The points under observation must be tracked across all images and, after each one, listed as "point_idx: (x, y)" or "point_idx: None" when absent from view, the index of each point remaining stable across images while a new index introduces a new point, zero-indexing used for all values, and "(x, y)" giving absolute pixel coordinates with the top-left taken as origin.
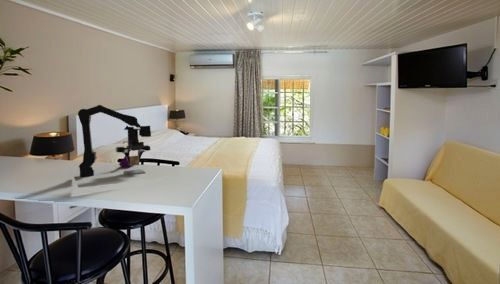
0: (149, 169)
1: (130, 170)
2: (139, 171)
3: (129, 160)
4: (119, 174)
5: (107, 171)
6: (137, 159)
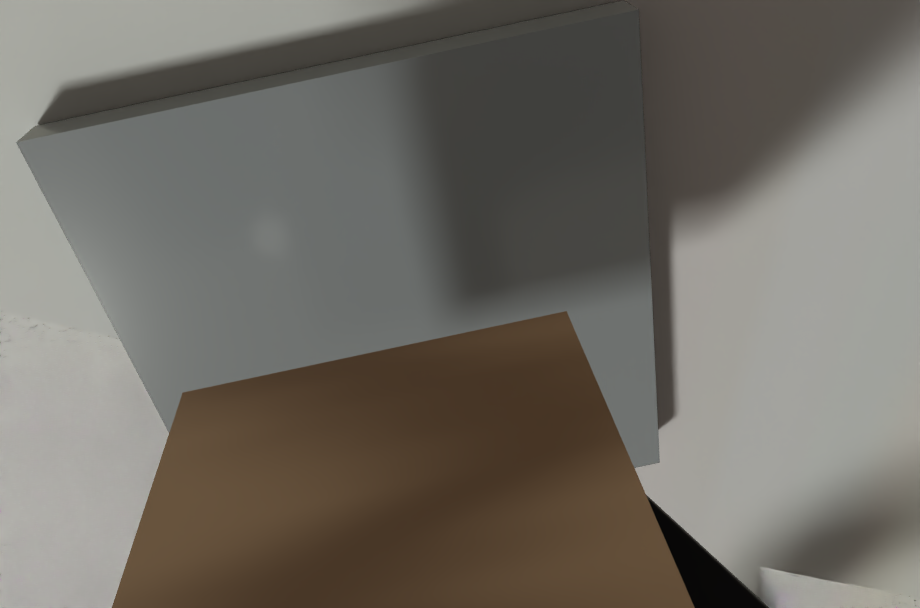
0: (26, 600)
1: None
2: (235, 271)
3: None
4: (805, 210)
5: (908, 603)
6: (209, 602)
